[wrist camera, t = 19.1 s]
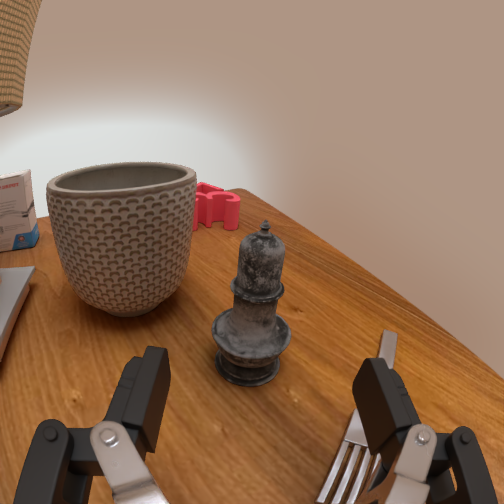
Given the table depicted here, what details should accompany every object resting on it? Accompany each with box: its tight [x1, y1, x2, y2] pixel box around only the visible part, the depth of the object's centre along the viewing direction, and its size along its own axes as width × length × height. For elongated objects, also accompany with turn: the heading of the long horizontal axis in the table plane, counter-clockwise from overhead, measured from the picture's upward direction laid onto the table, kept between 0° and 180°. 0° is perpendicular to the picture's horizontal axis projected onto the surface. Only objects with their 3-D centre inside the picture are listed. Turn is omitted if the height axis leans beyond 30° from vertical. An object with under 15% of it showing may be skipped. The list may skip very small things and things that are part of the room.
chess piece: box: [212, 220, 291, 387], centre depth 19 cm, size 6×6×12 cm
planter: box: [46, 162, 197, 317], centre depth 25 cm, size 14×14×13 cm
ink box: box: [0, 170, 39, 252], centre depth 32 cm, size 9×5×12 cm, turn 116°
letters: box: [193, 182, 240, 231], centre depth 51 cm, size 14×10×5 cm
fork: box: [314, 329, 398, 504], centre depth 18 cm, size 19×3×1 cm, turn 151°
